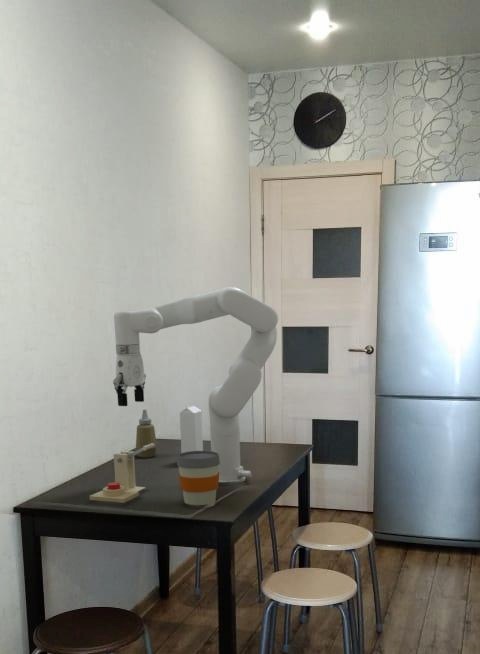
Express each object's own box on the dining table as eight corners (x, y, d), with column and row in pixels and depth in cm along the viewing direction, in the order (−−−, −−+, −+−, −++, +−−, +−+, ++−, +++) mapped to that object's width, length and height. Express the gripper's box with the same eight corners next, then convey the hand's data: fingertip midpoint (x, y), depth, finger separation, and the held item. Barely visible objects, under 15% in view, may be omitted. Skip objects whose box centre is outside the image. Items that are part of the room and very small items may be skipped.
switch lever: (156, 447, 264) (152, 440, 264) (148, 451, 260) (144, 443, 260) (126, 462, 269) (123, 455, 269) (118, 465, 265) (114, 458, 265)
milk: (203, 461, 312) (201, 402, 308) (196, 464, 307) (194, 404, 303) (188, 460, 315) (186, 401, 311) (181, 463, 309) (179, 403, 305)
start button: (122, 488, 259) (121, 482, 259) (115, 491, 256) (115, 485, 255) (112, 487, 260) (111, 481, 260) (105, 490, 257) (105, 484, 257)
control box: (139, 498, 260) (138, 486, 260) (123, 506, 252) (123, 492, 251) (105, 495, 265) (105, 483, 264) (89, 502, 257) (88, 490, 256)
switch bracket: (146, 490, 270) (144, 451, 268) (133, 496, 263) (131, 456, 260) (119, 488, 274) (116, 449, 272) (105, 494, 267) (103, 454, 264)
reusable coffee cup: (226, 507, 247) (224, 457, 245) (184, 511, 244) (181, 460, 241) (215, 497, 259) (213, 449, 257) (174, 501, 256) (172, 452, 253)
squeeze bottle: (161, 455, 325) (159, 408, 322) (148, 459, 318) (146, 411, 315) (145, 453, 329) (143, 407, 326) (131, 457, 323) (129, 410, 319)
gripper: (123, 352, 259) (126, 408, 262) (152, 347, 275) (155, 400, 278) (102, 352, 262) (106, 407, 266) (132, 347, 278) (135, 399, 281)
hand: (131, 403), depth 272 cm, fingers open, 9 cm apart
